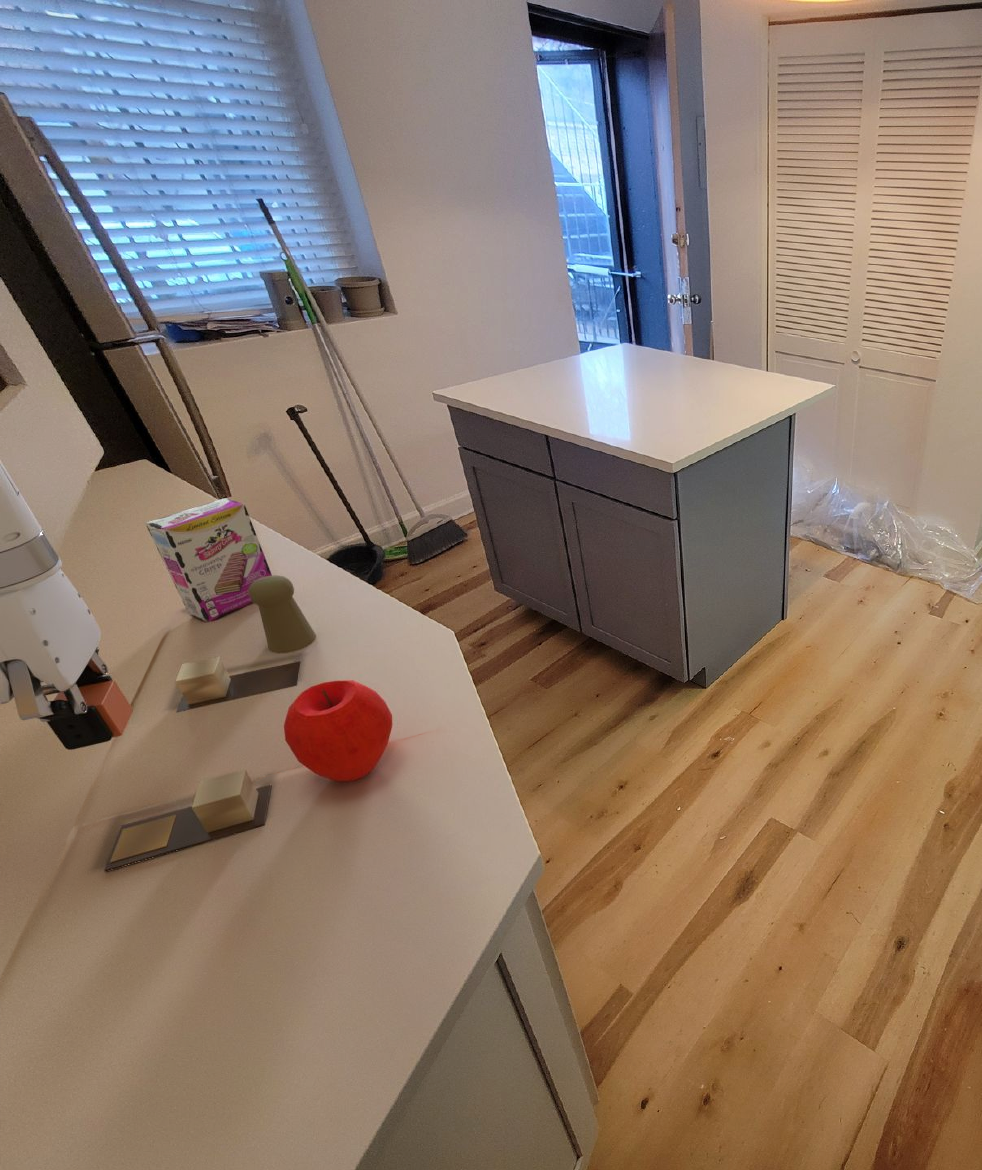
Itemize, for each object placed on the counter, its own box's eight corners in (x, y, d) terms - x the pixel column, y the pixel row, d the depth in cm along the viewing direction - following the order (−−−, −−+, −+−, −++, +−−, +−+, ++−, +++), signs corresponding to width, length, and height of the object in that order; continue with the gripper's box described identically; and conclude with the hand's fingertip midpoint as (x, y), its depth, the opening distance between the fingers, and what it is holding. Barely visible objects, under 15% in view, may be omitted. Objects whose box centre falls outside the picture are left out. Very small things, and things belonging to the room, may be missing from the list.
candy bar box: (210, 624, 99) (163, 529, 91) (188, 616, 101) (141, 522, 92) (281, 591, 108) (245, 502, 100) (261, 584, 110) (224, 496, 101)
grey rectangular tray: (177, 713, 83) (162, 688, 80) (187, 686, 87) (173, 661, 85) (297, 686, 88) (287, 662, 86) (301, 662, 93) (291, 638, 91)
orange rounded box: (65, 748, 60) (42, 716, 58) (80, 722, 63) (58, 690, 61) (122, 735, 61) (101, 704, 59) (133, 710, 64) (114, 679, 62)
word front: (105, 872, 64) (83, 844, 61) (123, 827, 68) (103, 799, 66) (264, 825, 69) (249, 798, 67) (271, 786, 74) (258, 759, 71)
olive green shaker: (258, 648, 95) (230, 585, 89) (297, 627, 100) (273, 566, 94) (287, 658, 93) (260, 595, 88) (326, 637, 98) (302, 575, 93)
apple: (414, 735, 82) (389, 659, 75) (387, 796, 73) (357, 716, 67) (328, 742, 80) (296, 665, 74) (291, 805, 72) (250, 724, 65)
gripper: (-28, 529, 57) (77, 687, 66) (-140, 625, 45) (8, 803, 54) (84, 516, 60) (169, 668, 70) (10, 602, 48) (125, 774, 57)
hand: (98, 726), depth 62 cm, fingers closed on orange rounded box, 4 cm apart
